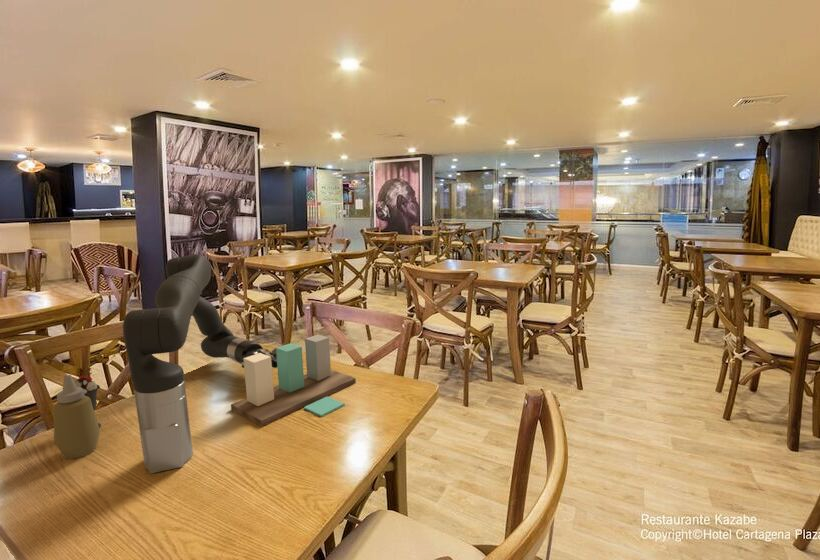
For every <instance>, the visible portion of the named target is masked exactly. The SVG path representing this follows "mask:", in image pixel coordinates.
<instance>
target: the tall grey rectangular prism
mask: <svg viewBox="0 0 820 560" xmlns="http://www.w3.org/2000/svg"><path fill="white" fill-rule="evenodd" d="M304 345H305V346H304V348H305V362H306V365H305V366H306V374H307V377H309V378H312V379H314V380H317V381H319V380H321V379H324V378H326V377H328V376H331V370H332V369H331V352H330V351H331V350H330V336H329V337H328V336H325V335H321V334H316V335H312V336H309V337H306V338H304Z"/></svg>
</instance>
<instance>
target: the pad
mask: <svg viewBox="0 0 820 560" xmlns="http://www.w3.org/2000/svg"><path fill="white" fill-rule="evenodd" d="M345 405H346V404H345V403H344V402H342V401H340V400H338V399H334V398H333V397H330V396H329V395H328V396H326V397H324V398H322V399H320V400H317V401H315V402H313V403H311V404H309V405H307V406H304V407H303V410H305V411H307V412H310V413H312V414H314V415H317V416H318V417H321V418H322V417H324V416H327V415H328V414H330V413H332V412H334V411H336V410H338V409H340V408H341V407H344V406H345Z"/></svg>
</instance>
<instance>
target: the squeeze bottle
mask: <svg viewBox="0 0 820 560" xmlns="http://www.w3.org/2000/svg"><path fill="white" fill-rule="evenodd" d="M62 382H63V383H62V384H63V385H62V390H60V391H59V392H57V394H56V398H57V399H56V400H57V402H56V403H55V404H54V406H53V407H52V411H53V412H52V413H53V415H52V416H53V433H54V434H53V435H54V437H53V439H54V444H55V446H56V448H57V449H58V450H59V452H60V453H61V455H63V457H64V459H69V460H70V459H77V458H78V459H79V458H82V457H85V456H87V455H89V454H91V453H93V452H94V451H95V450H96V448H97V445H98V441H99V437H100V436H99V435H100V433H101V430H100V428H99V426H98V423H99V422H98V419H97V416H96V413H95V411H94V409H93V406H92V403H91V399H90V398H89V397H87V396H84V389H83V388H80V387H76V385H75V383H74V382H75V381H74V379H73V376H72V374H67V375H63V381H62Z"/></svg>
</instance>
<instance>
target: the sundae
mask: <svg viewBox="0 0 820 560" xmlns="http://www.w3.org/2000/svg"><path fill="white" fill-rule="evenodd" d="M91 370H92V368H91V367H88V368H87V370H86V371H85V373H84V374H83V375H81V376H79V378H78V379H75V381H74V383H75V385H76V387H80V388H83V389H84V396H87V397H89V398H90V399H91V403H92V406H93V409H94V412H95V411H96V409H97V393H98V390H99V389H101V387H100V386H101V385H99V384H97V383H96V382H95V381H93V377H91V376H90V375H89V373H90V371H91ZM86 374H87V377H86ZM98 426H99V429H100V428H101V427H102V424H101V423H100V422H98Z"/></svg>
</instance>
